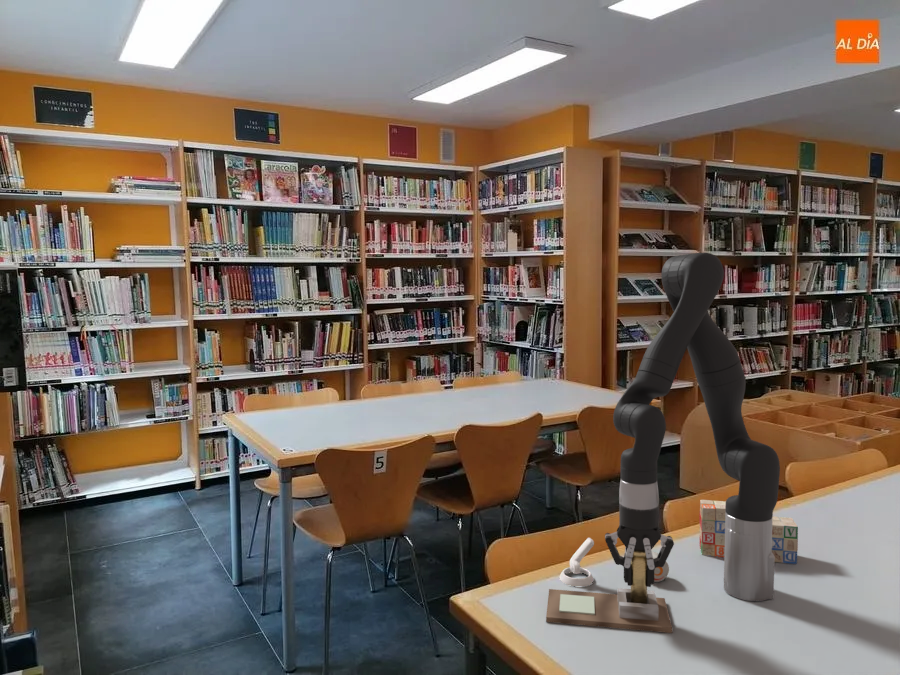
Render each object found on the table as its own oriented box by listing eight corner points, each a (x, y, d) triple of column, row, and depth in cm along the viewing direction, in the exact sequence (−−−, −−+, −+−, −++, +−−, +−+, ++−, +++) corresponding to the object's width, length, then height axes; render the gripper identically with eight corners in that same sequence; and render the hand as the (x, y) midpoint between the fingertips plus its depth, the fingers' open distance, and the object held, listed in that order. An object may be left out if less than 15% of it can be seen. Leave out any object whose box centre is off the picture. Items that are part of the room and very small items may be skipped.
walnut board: (664, 602, 136) (664, 586, 136) (672, 633, 125) (672, 615, 124) (549, 593, 141) (549, 577, 141) (546, 621, 129) (546, 605, 129)
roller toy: (636, 574, 149) (637, 550, 149) (663, 573, 150) (664, 549, 149) (643, 583, 145) (643, 558, 145) (671, 582, 145) (671, 557, 145)
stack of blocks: (791, 554, 159) (793, 505, 158) (797, 565, 153) (799, 514, 152) (698, 545, 165) (699, 498, 164) (700, 555, 160) (701, 506, 158)
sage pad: (594, 598, 137) (594, 596, 137) (594, 614, 130) (594, 613, 130) (560, 595, 138) (560, 594, 138) (559, 611, 131) (559, 610, 131)
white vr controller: (619, 564, 143) (595, 550, 141) (585, 603, 145) (561, 590, 144) (607, 544, 150) (585, 530, 148) (576, 582, 152) (553, 568, 151)
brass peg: (648, 597, 133) (648, 545, 132) (650, 607, 129) (650, 553, 128) (627, 596, 134) (627, 544, 133) (629, 605, 130) (629, 552, 129)
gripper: (673, 496, 132) (672, 578, 133) (601, 494, 135) (602, 574, 136) (678, 509, 124) (678, 596, 126) (603, 506, 127) (603, 591, 129)
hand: (638, 584), depth 131 cm, fingers closed on brass peg, 3 cm apart
